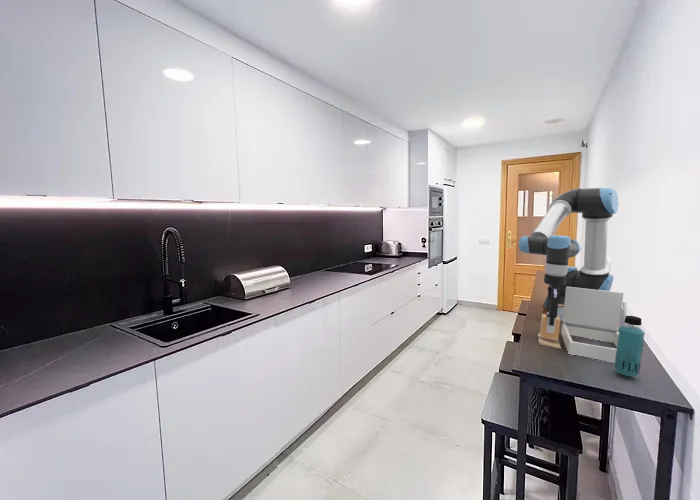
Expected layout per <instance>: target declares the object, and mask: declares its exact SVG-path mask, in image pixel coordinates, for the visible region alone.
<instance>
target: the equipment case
mask: <svg viewBox="0 0 700 500" xmlns="http://www.w3.org/2000/svg"><path fill="white" fill-rule="evenodd" d="M623 298H624V292H621V291H611V290H610V291H603V290H594V289H585V288H575V287H566V294H565V303H564V312H563V321H562V322H561V333H560V335H561V334H562V335H561V337H563V338H562V340H564V341H563V343H564V342H565V343H564V346H565V345H566V346H565V349H566V348H567V349H566V352H567V351H568V352H567V354H571V355H570V356H573V355H578V356H584V357H590V358H594V359H599V360H598V361H600V360H602V361H601V362H605V361H606V362H607V363H610V364H611V363H612V364H615V358H616V356H615V355H616V351H617V344H618V336H619V328H620V323H621V316H622V319H623V320H622V321H623V326H624V325H629V324H627V323H625V322H624V320H625V317H626V316H628V309H627V308H628V307H627V306H628V305H627V302H623V301H624V299H623ZM570 335H575V336H580V337H585V338H589V339H588V340H592V339H594V340H593V341H598V340H600V341H599V342H603V343H604V342H605V343H610V344H613V345H615V347H616V348H614V347H609V346H600V345H596V344H589V343H583V342H580V341H579V342H578V341H573V338H572V336H570ZM585 338H584V339H585ZM578 356H577V357H578ZM594 359H593V360H594Z"/></svg>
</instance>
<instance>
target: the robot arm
mask: <svg viewBox="0 0 700 500" xmlns="http://www.w3.org/2000/svg"><path fill="white" fill-rule="evenodd" d="M618 211H619V197H618V193H617V191H616V190H615V189H614V188H612V187H610V188H608V187H591V188H590V187H589V188H573V189H569V190H567V191H564V192H563V193H561V194H559V195H558V196H557V197H555V198H554V199H553V200H552V201H551V203H550V204H549V209H548V210H547V212H546V213H545V214H544V216H543V217H542V219H541V220H540V221H539V223H538V224H537V226H536V227H535V229H534V230H533V231H532V233H531V234H529V235H526V236H525V235H524V236H521V237H520V239H519V241H518V249H519V251H520V252H521V253H526V254H529V255H531V254H532V255H541V256H546V257H545V258H546V259H545V264H544V265H543V268H544V272H545V274H544V277H543V282H544V283H545V284H546V285H548V287H547V295H546V297H545V299H544V301H543V307H544V308H545V307H546V306H547V313H549V315H546V317H548V320H547V330H546V332H548V333H554V332H555V323H556V318H557V310H558V304H564V303H565V294H566V287H575V288H585V289H594V290H603V291H611V289H612V285H613V282H614V275H613V274H610V270H609V269H608V268H607V267H606V264H607V263H606V262H607V260H606V259H607V247H608V229H609V228H608V227H609V220H610V219H612V217H614V214H616V213H617V212H618ZM575 213H577V214H581V217H582V219H584V220H585V231H584V257H583V266H582V267H580V268H579V270H578V267H577V266H573V265H572V266H569V259H570V258H574V257H576V256H577V255H578V254H580V251H581V245H580V243H579V242H578V241H577V240H575V239H571V237H570V236H568V235H559V234H558V235H557V234H554V233H555V232H556V231H557V229H558V228H559V227H560V225H561V224H562V222H563V220H564V219H565V218H566V217H568V216H569V215H570V214H575Z"/></svg>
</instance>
